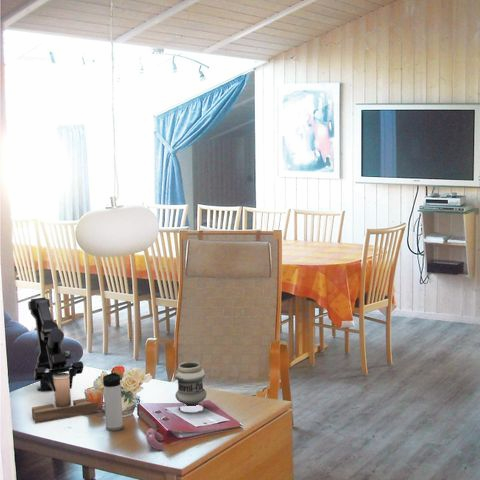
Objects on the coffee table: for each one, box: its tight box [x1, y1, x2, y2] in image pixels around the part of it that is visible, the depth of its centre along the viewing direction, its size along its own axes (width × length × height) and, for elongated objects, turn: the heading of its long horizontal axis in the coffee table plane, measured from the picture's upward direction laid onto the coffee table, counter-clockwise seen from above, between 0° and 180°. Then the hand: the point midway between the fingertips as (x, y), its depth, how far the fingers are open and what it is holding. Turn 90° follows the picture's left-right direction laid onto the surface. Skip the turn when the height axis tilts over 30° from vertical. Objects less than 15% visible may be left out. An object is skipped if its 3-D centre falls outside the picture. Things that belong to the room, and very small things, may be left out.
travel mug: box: [102, 372, 124, 432], centre depth 297 cm, size 6×7×20 cm
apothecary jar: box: [174, 361, 207, 406], centre depth 314 cm, size 12×12×18 cm
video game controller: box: [145, 427, 164, 451], centre depth 280 cm, size 10×5×7 cm, turn 5°
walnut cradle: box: [31, 397, 99, 424], centre depth 314 cm, size 7×24×4 cm, turn 114°
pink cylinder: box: [53, 372, 72, 408], centre depth 315 cm, size 6×6×12 cm
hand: (62, 389), depth 314 cm, fingers closed on pink cylinder, 6 cm apart
